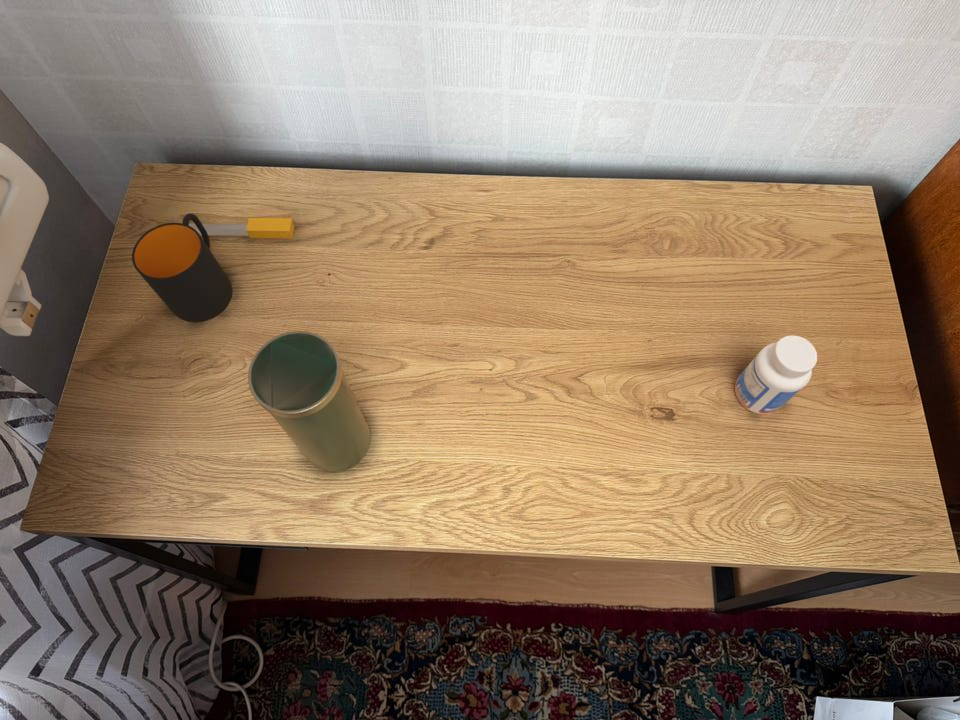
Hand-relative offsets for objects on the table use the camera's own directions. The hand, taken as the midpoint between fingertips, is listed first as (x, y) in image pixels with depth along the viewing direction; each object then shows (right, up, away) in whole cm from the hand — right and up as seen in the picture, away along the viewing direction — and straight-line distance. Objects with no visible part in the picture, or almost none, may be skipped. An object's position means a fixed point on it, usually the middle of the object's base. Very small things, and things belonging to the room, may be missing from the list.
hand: (27, 321), depth 53 cm
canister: (+21, -13, +23) cm, 34 cm away
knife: (+3, +15, +36) cm, 39 cm away
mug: (+1, +7, +32) cm, 33 cm away
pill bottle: (+73, -7, +26) cm, 78 cm away
